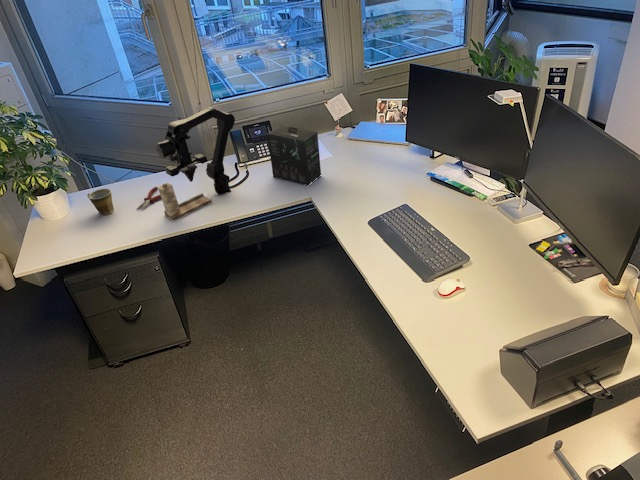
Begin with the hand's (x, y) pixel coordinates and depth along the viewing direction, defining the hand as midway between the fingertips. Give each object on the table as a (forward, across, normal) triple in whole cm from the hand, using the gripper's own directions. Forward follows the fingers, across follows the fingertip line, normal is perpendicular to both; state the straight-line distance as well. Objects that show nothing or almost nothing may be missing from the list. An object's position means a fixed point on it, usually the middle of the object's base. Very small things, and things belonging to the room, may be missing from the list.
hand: (191, 181), depth 215 cm
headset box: (+12, -47, +19) cm, 52 cm away
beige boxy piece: (+10, +13, +1) cm, 17 cm away
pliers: (+13, +12, -23) cm, 29 cm away
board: (+12, +5, +1) cm, 13 cm away
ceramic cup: (+12, +33, -31) cm, 47 cm away
